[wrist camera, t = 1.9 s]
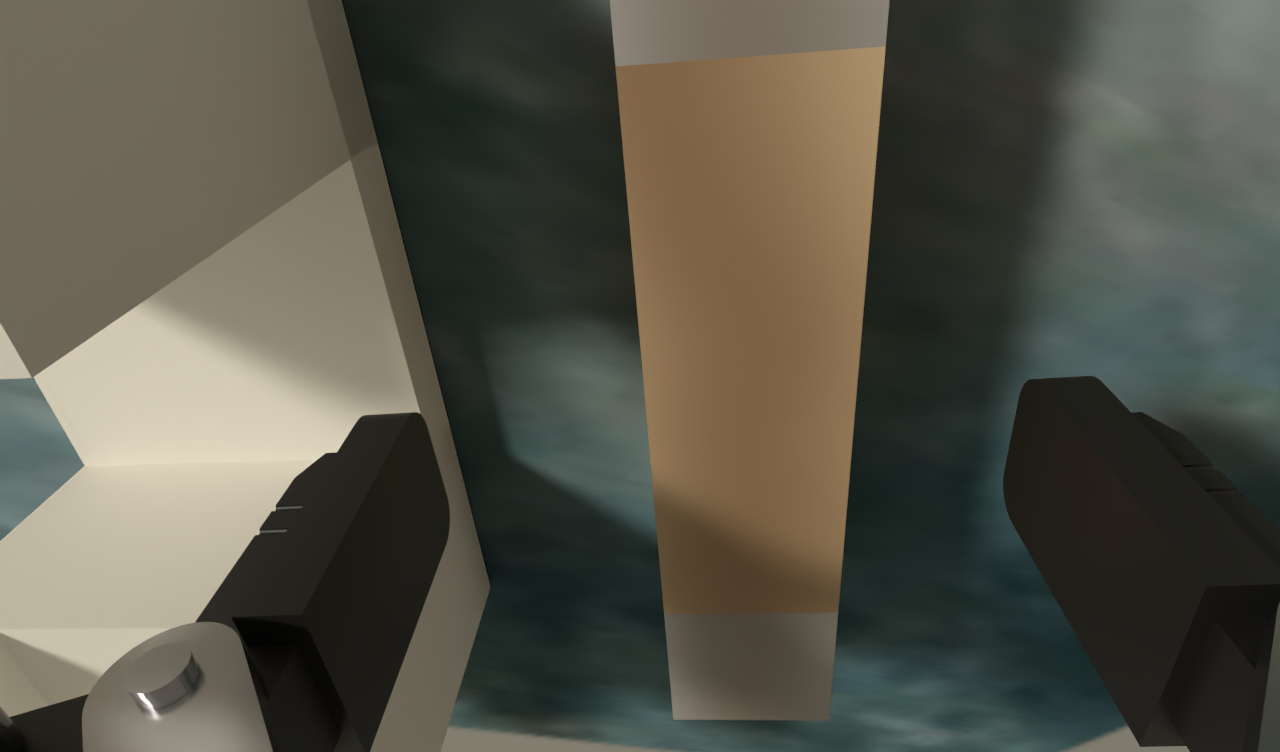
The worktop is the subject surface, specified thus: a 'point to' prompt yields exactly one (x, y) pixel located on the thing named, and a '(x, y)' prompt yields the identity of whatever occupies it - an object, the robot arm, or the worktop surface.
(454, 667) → the white notched block
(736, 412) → the rail
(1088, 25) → the worktop surface
